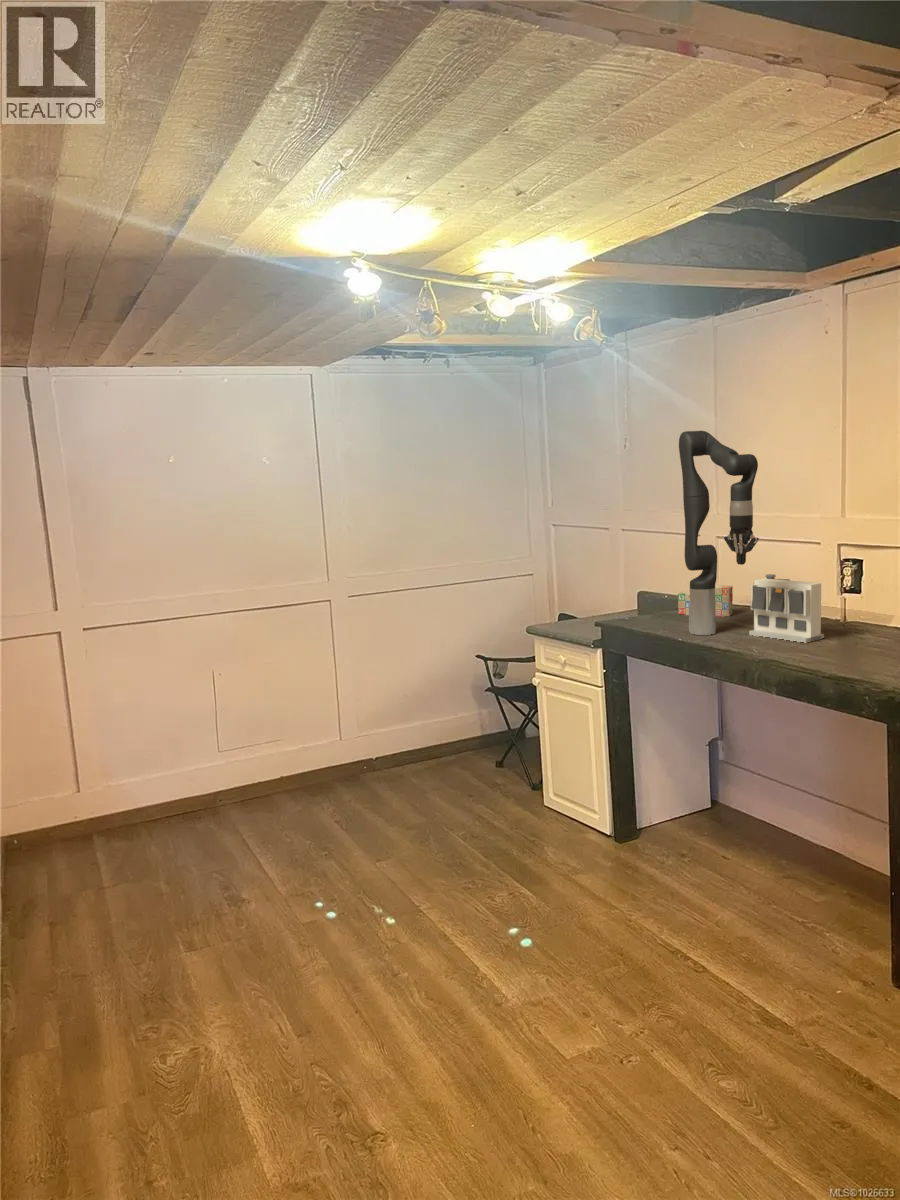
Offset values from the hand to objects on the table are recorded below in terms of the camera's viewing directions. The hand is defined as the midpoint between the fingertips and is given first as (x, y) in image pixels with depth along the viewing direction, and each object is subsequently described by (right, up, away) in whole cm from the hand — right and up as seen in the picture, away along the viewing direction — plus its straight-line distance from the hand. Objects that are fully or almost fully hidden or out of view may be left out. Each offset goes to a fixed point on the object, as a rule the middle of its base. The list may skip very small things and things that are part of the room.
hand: (741, 564), depth 308 cm
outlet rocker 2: (+22, -17, +6) cm, 28 cm away
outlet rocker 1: (+16, -16, +10) cm, 25 cm away
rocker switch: (+12, -16, +17) cm, 26 cm away
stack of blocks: (+7, -19, +68) cm, 71 cm away
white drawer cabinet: (+22, -26, +16) cm, 37 cm away
